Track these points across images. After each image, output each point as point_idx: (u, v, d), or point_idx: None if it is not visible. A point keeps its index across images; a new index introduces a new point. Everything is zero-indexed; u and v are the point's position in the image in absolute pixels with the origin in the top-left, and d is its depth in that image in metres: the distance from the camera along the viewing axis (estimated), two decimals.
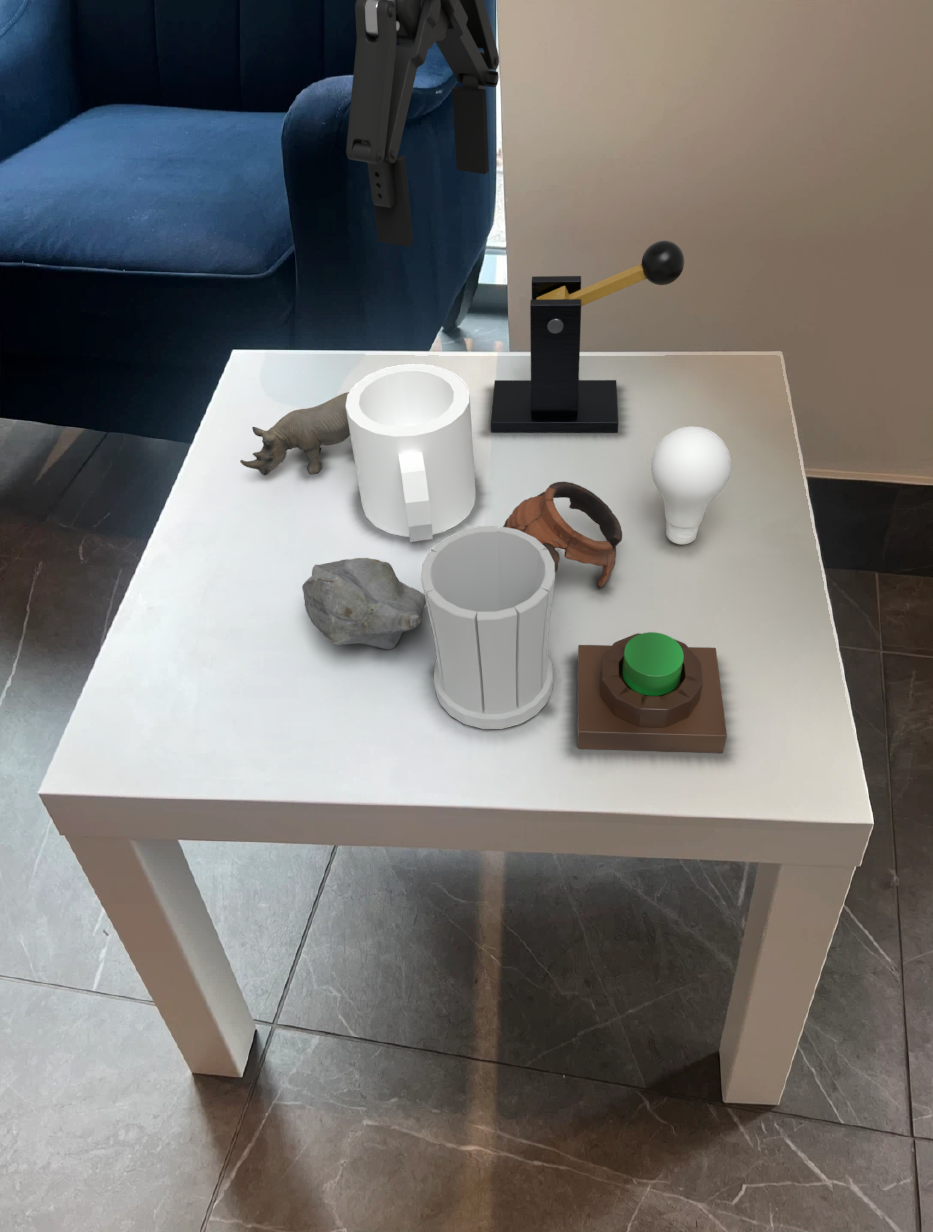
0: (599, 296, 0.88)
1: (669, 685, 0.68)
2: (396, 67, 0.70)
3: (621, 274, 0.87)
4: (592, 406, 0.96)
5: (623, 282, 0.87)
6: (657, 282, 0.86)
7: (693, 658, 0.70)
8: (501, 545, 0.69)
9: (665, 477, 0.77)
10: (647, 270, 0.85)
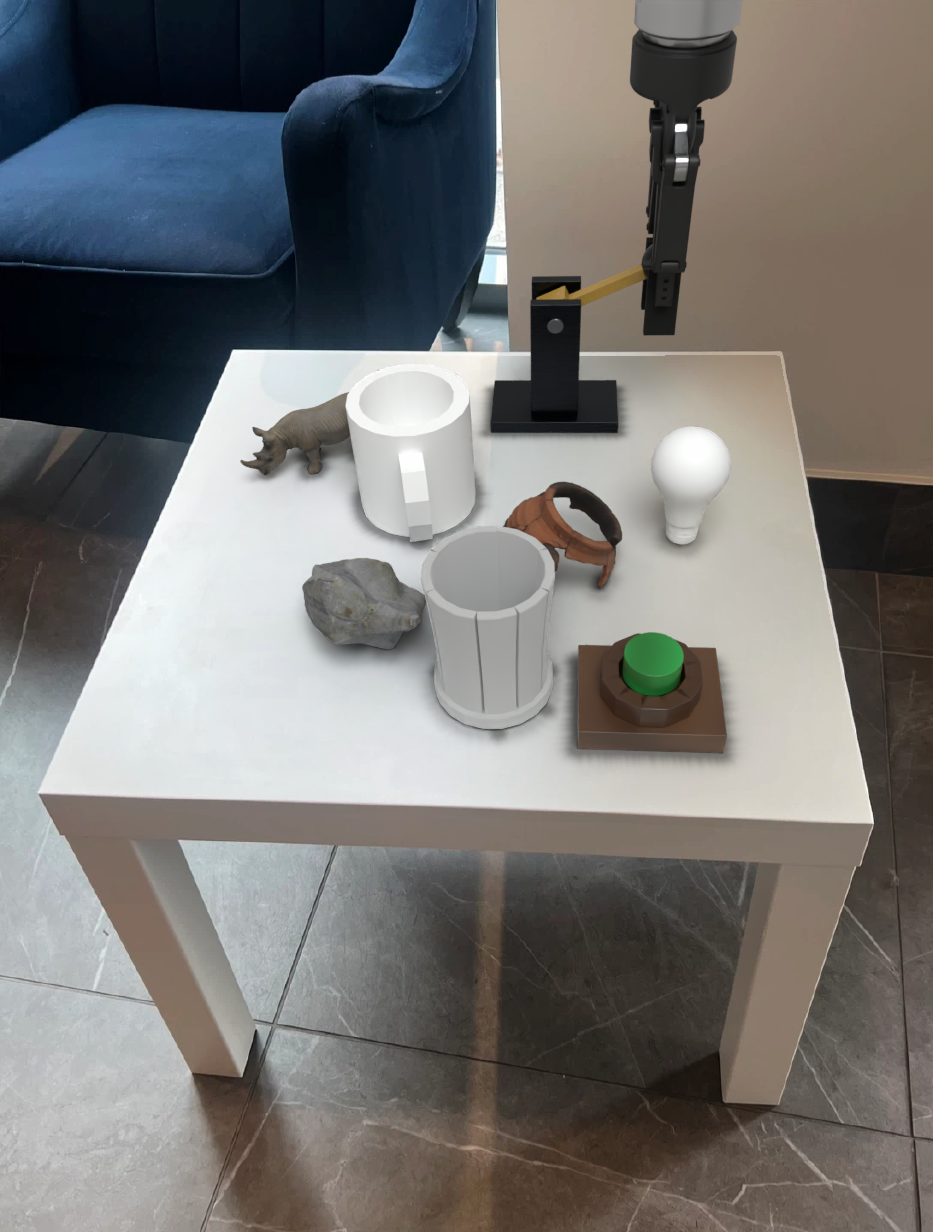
0: (599, 296, 0.88)
1: (669, 685, 0.68)
2: None
3: (621, 274, 0.87)
4: (592, 406, 0.96)
5: (623, 282, 0.87)
6: None
7: (693, 658, 0.70)
8: (501, 545, 0.69)
9: (665, 477, 0.77)
10: (647, 270, 0.85)
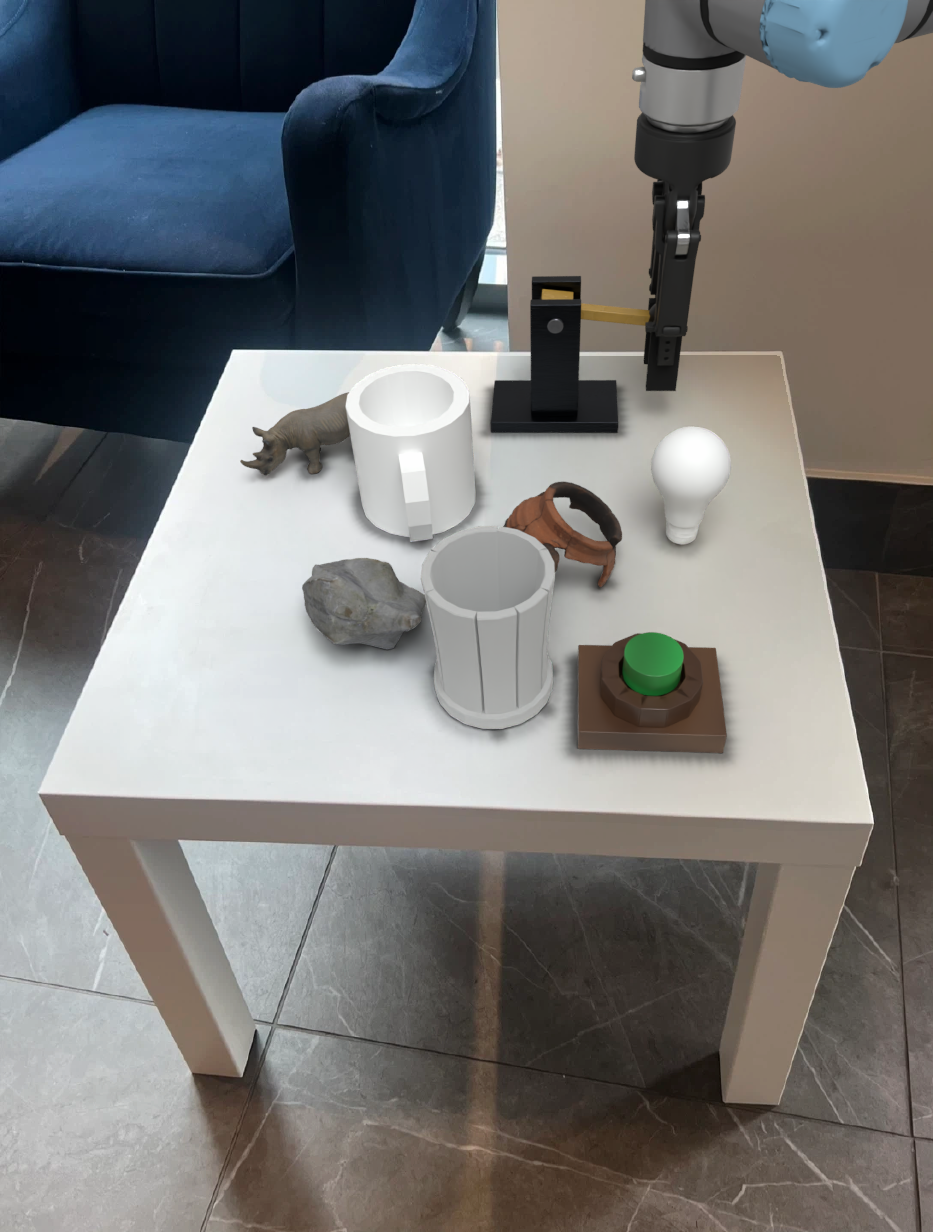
0: (600, 319, 0.90)
1: (669, 685, 0.68)
2: None
3: (628, 310, 0.89)
4: (592, 406, 0.96)
5: (627, 318, 0.89)
6: None
7: (693, 658, 0.70)
8: (501, 545, 0.69)
9: (665, 477, 0.77)
10: None
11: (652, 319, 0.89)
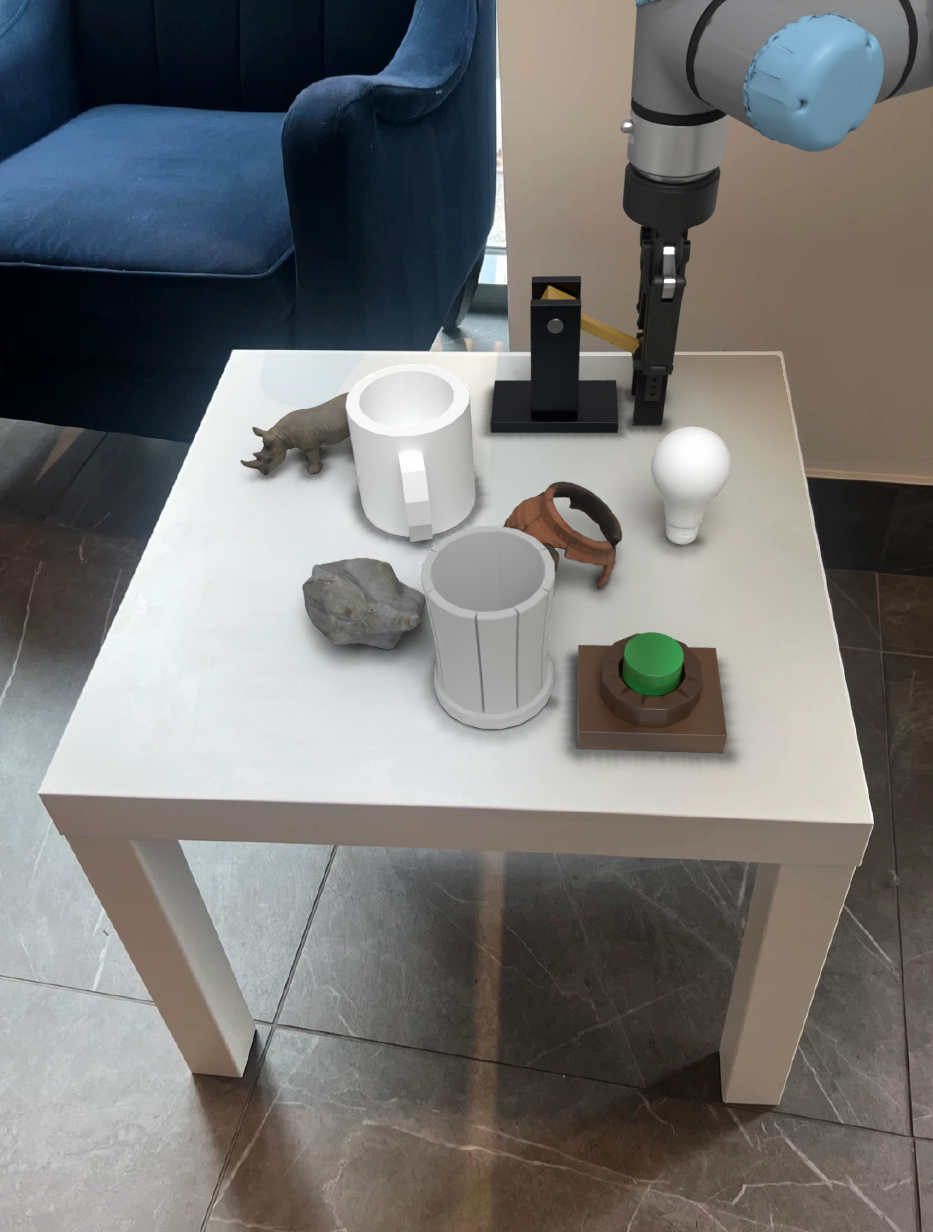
0: (593, 333, 0.91)
1: (669, 685, 0.68)
2: None
3: (620, 333, 0.91)
4: (592, 406, 0.96)
5: (618, 341, 0.91)
6: None
7: (693, 658, 0.70)
8: (501, 545, 0.69)
9: (665, 477, 0.77)
10: None
11: (640, 349, 0.91)
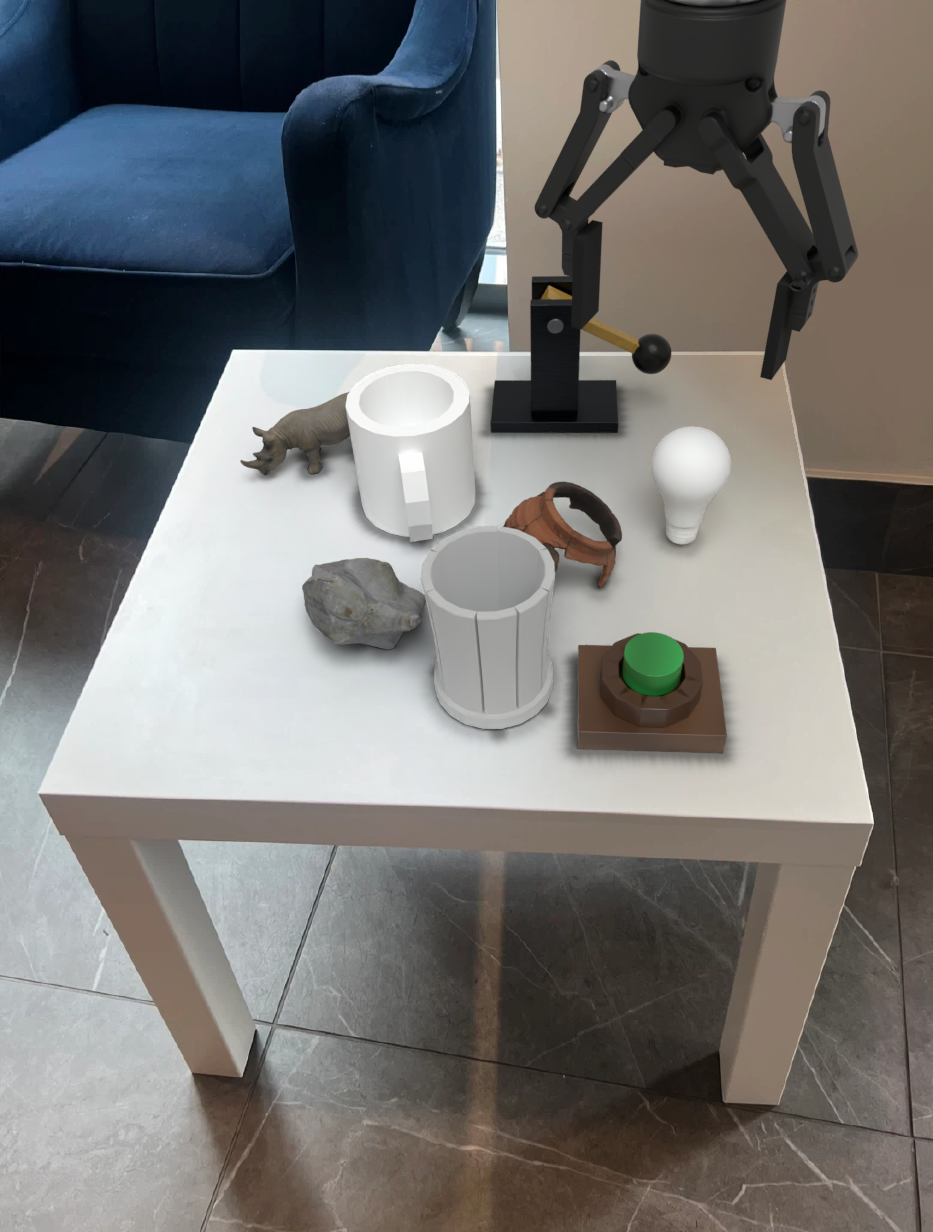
0: (593, 333, 0.91)
1: (669, 685, 0.68)
2: (772, 178, 0.57)
3: (620, 333, 0.91)
4: (592, 406, 0.96)
5: (618, 341, 0.91)
6: (639, 365, 0.92)
7: (693, 658, 0.70)
8: (501, 545, 0.69)
9: (665, 477, 0.77)
10: (643, 351, 0.91)
11: (640, 349, 0.91)
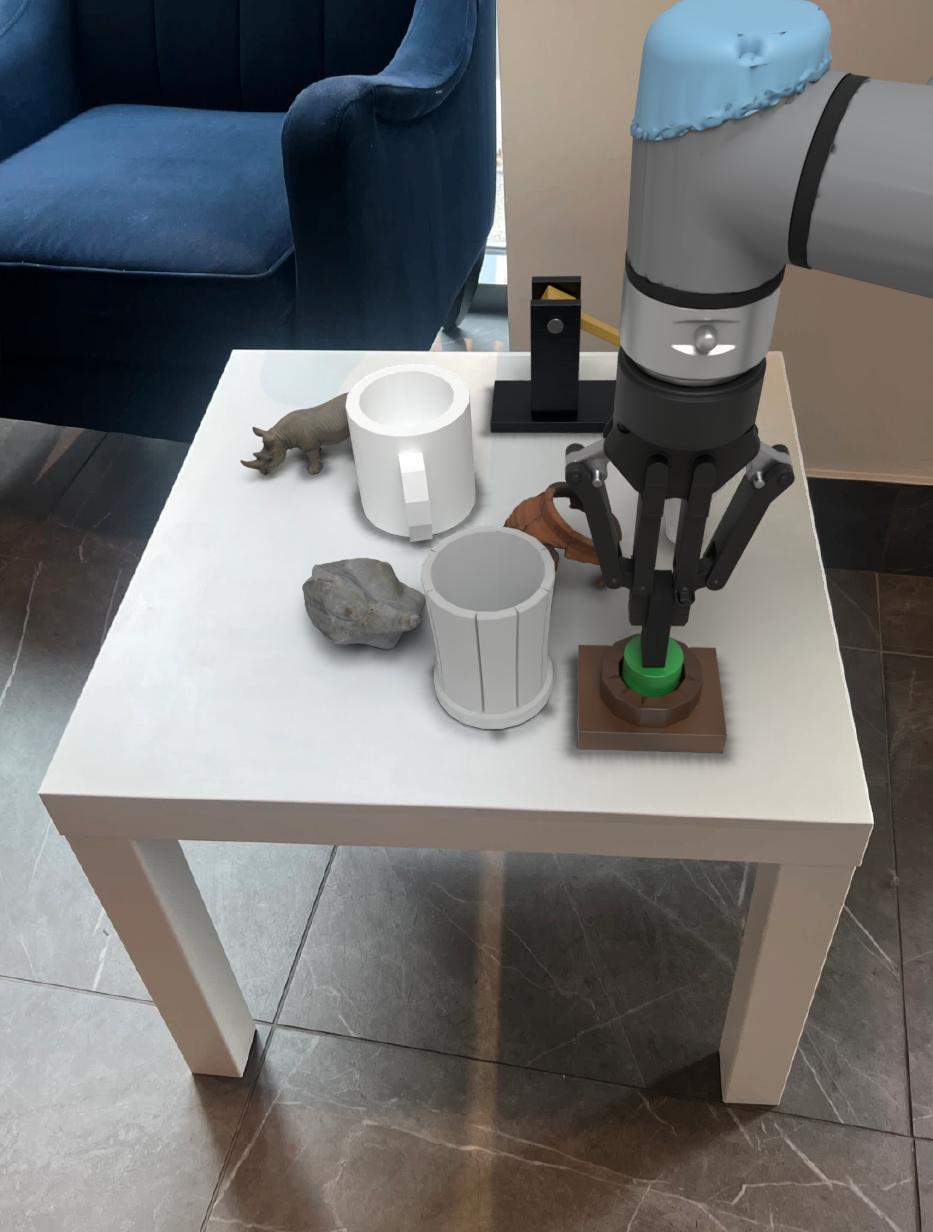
0: (593, 333, 0.91)
1: (669, 686, 0.68)
2: None
3: None
4: (592, 406, 0.96)
5: (618, 341, 0.91)
6: None
7: (693, 658, 0.70)
8: (501, 545, 0.69)
9: None
10: None
11: None
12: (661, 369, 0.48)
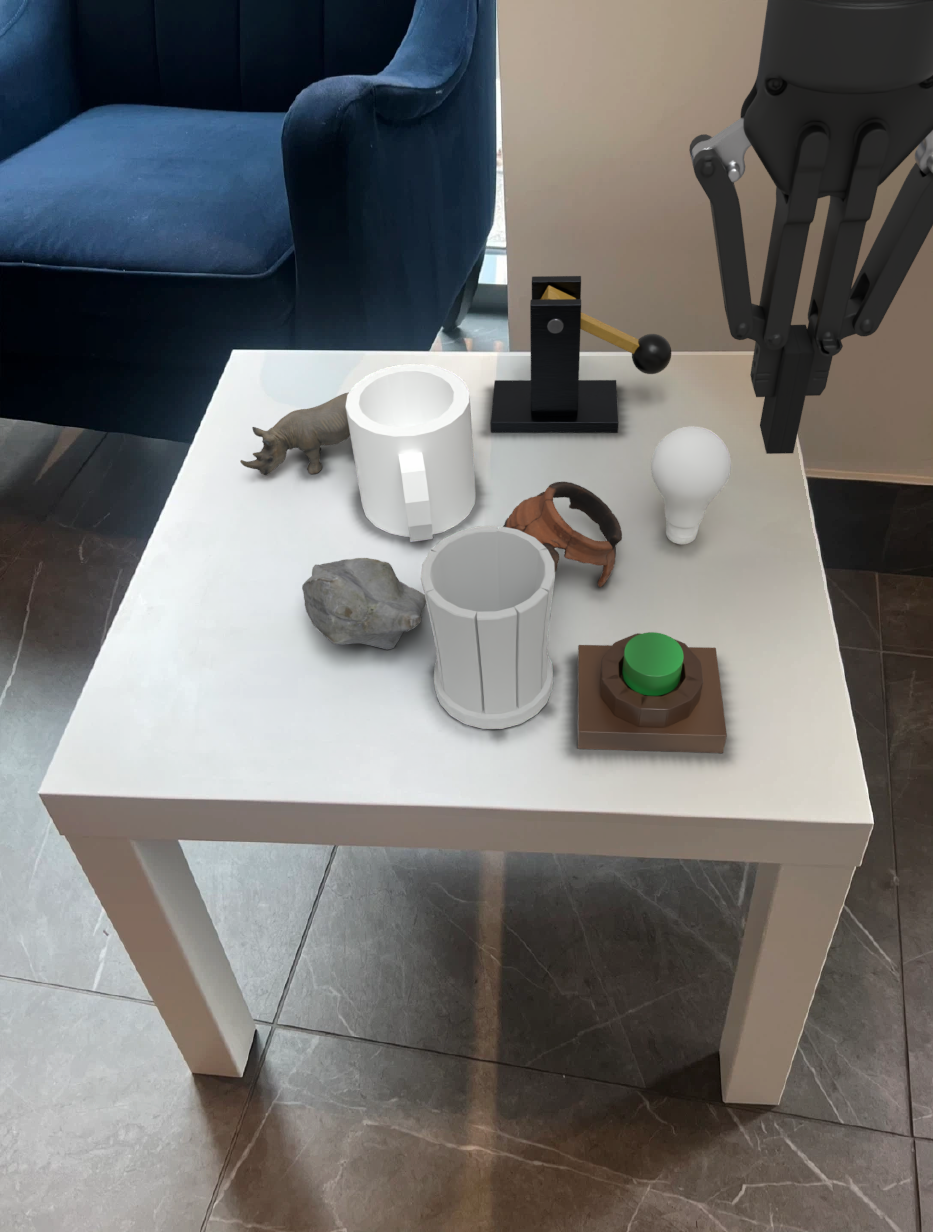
0: (593, 333, 0.91)
1: (669, 685, 0.68)
2: None
3: (620, 333, 0.91)
4: (592, 406, 0.96)
5: (618, 341, 0.91)
6: (639, 365, 0.92)
7: (693, 658, 0.70)
8: (501, 545, 0.69)
9: (665, 477, 0.77)
10: (643, 351, 0.91)
11: (640, 349, 0.91)
12: None
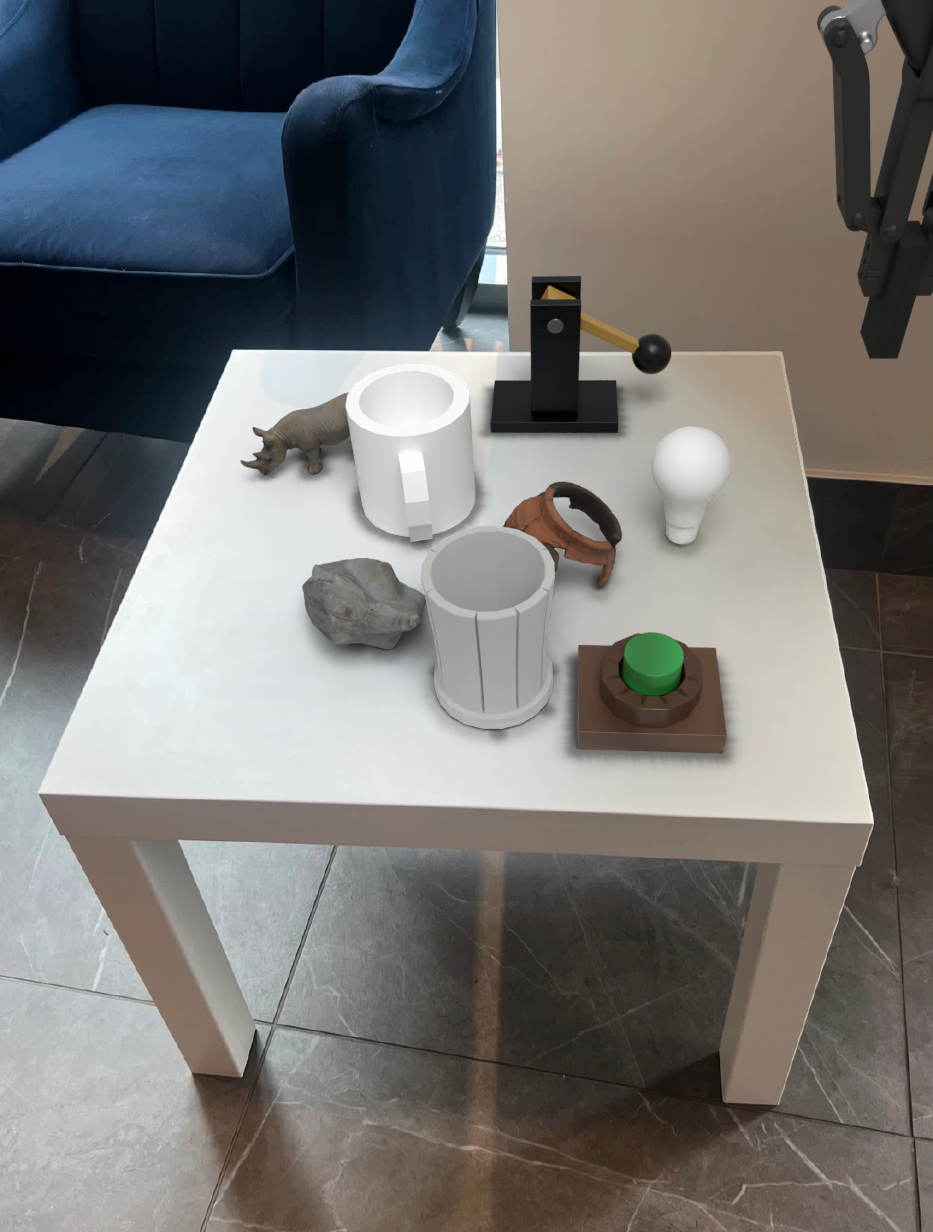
0: (593, 333, 0.91)
1: (669, 685, 0.68)
2: None
3: (620, 333, 0.91)
4: (592, 406, 0.96)
5: (618, 341, 0.91)
6: (639, 365, 0.92)
7: (693, 658, 0.70)
8: (501, 545, 0.69)
9: (665, 477, 0.77)
10: (643, 351, 0.91)
11: (640, 349, 0.91)
12: None
